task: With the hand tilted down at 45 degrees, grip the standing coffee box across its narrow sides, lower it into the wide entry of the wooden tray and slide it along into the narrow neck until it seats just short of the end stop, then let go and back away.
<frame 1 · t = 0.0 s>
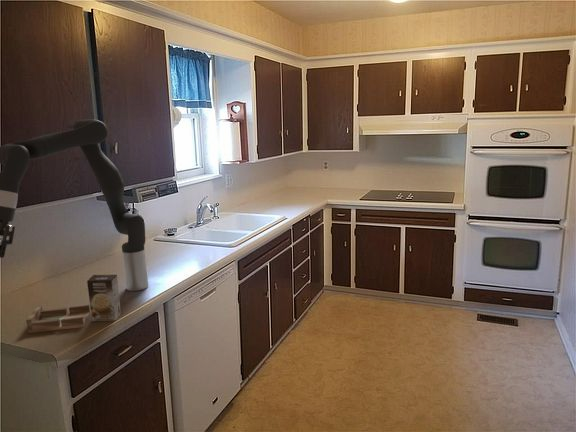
coffee box: (106, 318, 166), on the countertop
wooden tray: (60, 322, 163), on the countertop
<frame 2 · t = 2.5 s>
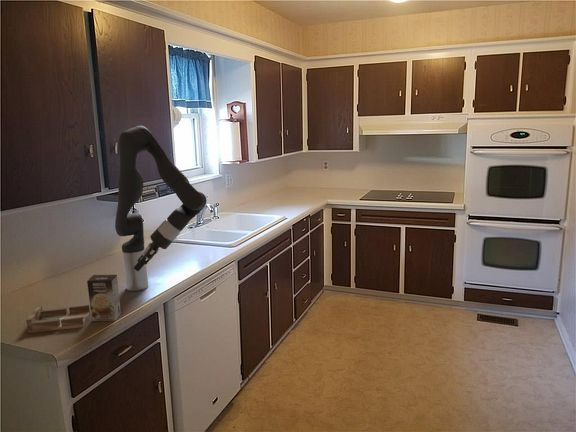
hand: (137, 265, 164), 19 cm above the countertop, tool tilted 45°, fingers open, 8 cm apart
nothing on the countertop moved.
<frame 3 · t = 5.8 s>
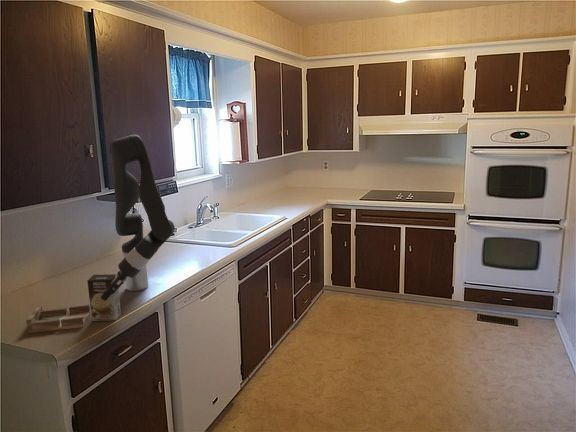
hand: (104, 295, 164), 9 cm above the countertop, tool tilted 45°, fingers closed on coffee box, 7 cm apart
coffee box: (106, 317, 166), on the countertop, touching gripper
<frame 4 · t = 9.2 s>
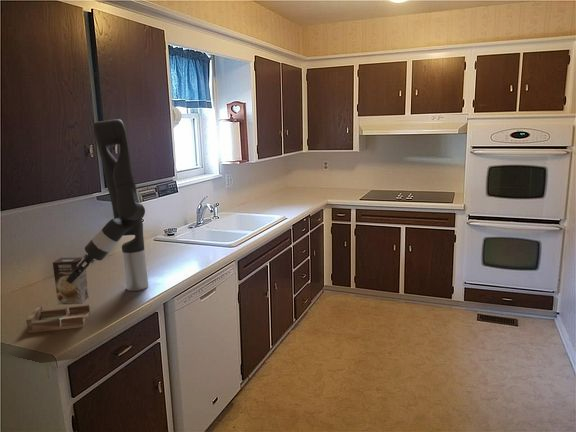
hand: (71, 278, 160), 17 cm above the countertop, tool tilted 45°, fingers closed on coffee box, 7 cm apart
coffee box: (73, 302, 162), point 8 cm above the countertop, touching gripper
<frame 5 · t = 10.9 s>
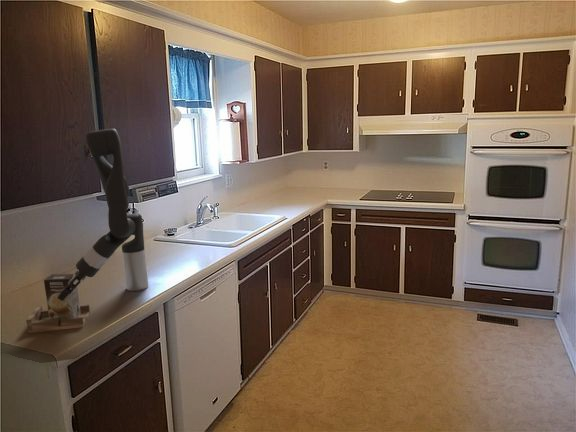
hand: (62, 294, 160), 11 cm above the countertop, tool tilted 45°, fingers closed on coffee box, 7 cm apart
coffee box: (65, 318, 163), point 2 cm above the countertop, touching gripper
when the fingers open (11 cm above the countertop, at t = 12.5 s): coffee box stays where it is, resting on wooden tray.
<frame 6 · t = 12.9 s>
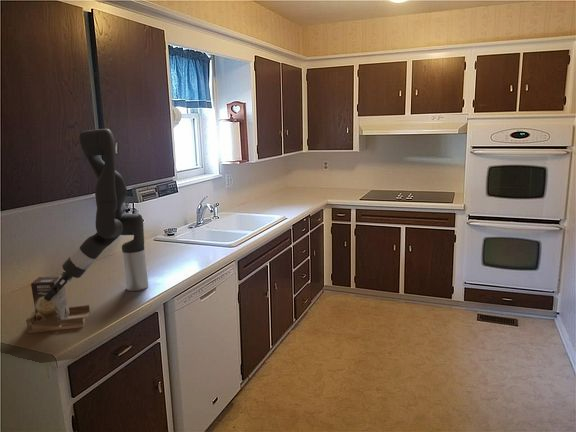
hand: (49, 295, 160), 11 cm above the countertop, tool tilted 45°, fingers open, 8 cm apart
coffee box: (53, 321, 162), point 1 cm above the countertop, touching wooden tray
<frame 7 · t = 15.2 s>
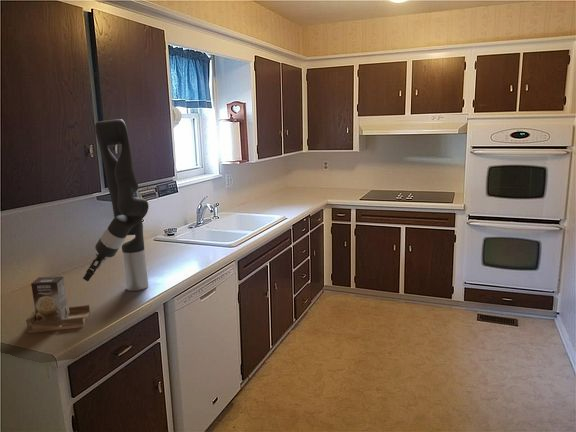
hand: (89, 274, 165), 16 cm above the countertop, tool tilted 40°, fingers open, 8 cm apart
nothing on the countertop moved.
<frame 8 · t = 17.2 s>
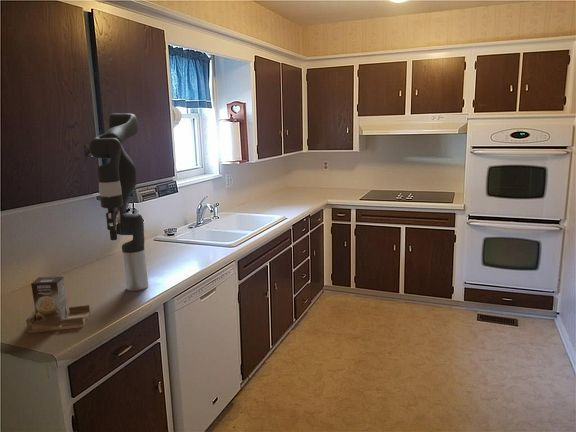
hand: (115, 236, 163), 30 cm above the countertop, tool pointing down, fingers open, 8 cm apart
nothing on the countertop moved.
at the end: coffee box 0.4 cm from the target spot on the wooden tray, point 0.9 cm above the wooden tray's base; coffee box tilted 0°; the gripper is holding nothing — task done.
